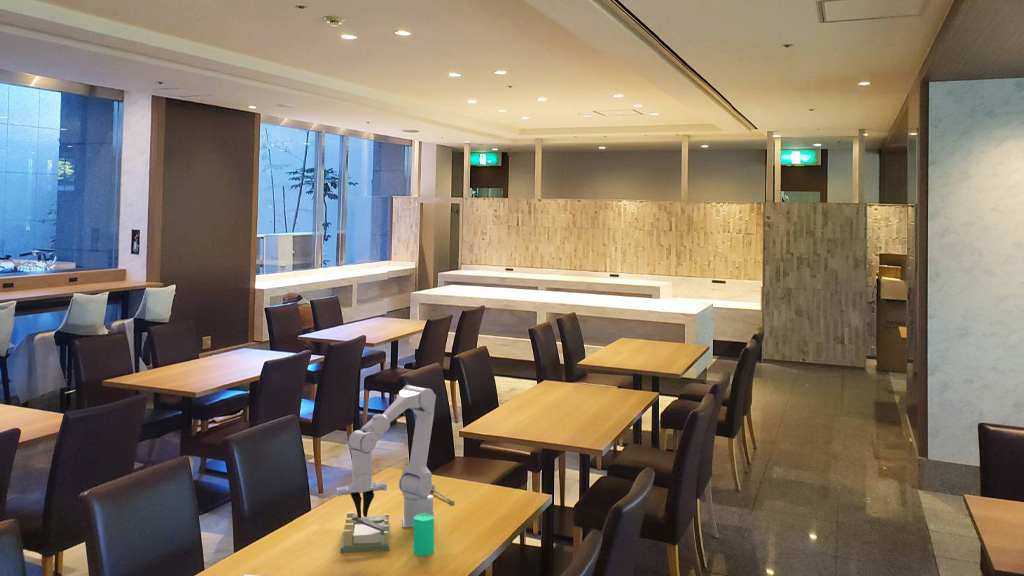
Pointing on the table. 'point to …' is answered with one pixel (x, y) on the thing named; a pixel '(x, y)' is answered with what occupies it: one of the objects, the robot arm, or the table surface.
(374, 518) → the strap far
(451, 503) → the soupspoon
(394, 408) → the robot arm
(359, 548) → the board
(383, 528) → the strap near
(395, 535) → the table surface
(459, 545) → the table surface
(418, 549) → the candle
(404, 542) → the table surface
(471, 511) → the table surface
